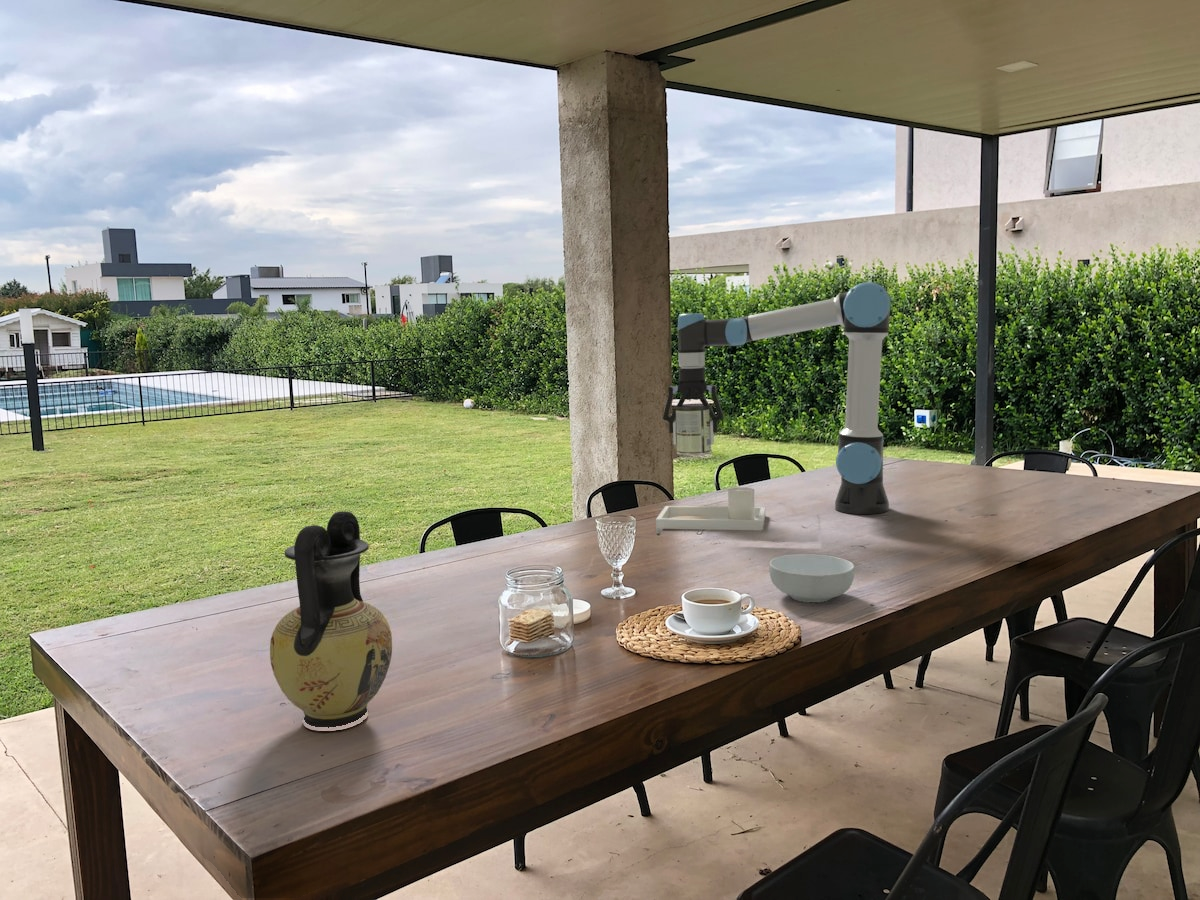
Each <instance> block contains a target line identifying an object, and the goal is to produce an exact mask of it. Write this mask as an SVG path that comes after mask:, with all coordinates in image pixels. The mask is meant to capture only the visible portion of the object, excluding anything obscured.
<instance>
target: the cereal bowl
mask: <svg viewBox="0 0 1200 900" xmlns="http://www.w3.org/2000/svg"><path fill="white" fill-rule="evenodd" d="M769 576H770V581H771V582H772V584H773V586H775V588H776V589H778V590H779V591H780V592H781V593H784V594H786V595H787V596H790V598H792V599H793V600H795V601H797V602H802V601H803V602H802V603H810V602H817V603H824V601H825V602H827V601H830V600H832V599H833V598H835V597H839V596H841V595H843V594H845V593H846V592H847V591H849V589H850V588H851V586H852V585H853V582H854V578H855V565H854V564H853V562H851V561H849V560H847V559H845V558H842V557H838V556H833V555H824V554H814V553H813V554H812V553H811V554H810V553H809V554H808V553H796V554H785V555H781V556H777V557H775V558H773V559H771V560H770V561H769Z"/></svg>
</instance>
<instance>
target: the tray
mask: <svg viewBox="0 0 1200 900" xmlns="http://www.w3.org/2000/svg"><path fill="white" fill-rule="evenodd" d="M754 507H755V520H738V519H728V506H709V505H708V506H705V505H703V506H700V505H698V506H697V505H696V506H695V505H693V506H691V505H689V506H687V505H665V506H664V507H663V508H662V510H661V512H660V513H659V514H658V515H657V517H656V519H655V534H656V535H661V533H662V532H663V530H711V531H712V530H715V531H716V530H719V531H720V530H721V531H722V530H723V531H763V530H764V525H765V520H766V507H765V506H754Z"/></svg>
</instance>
